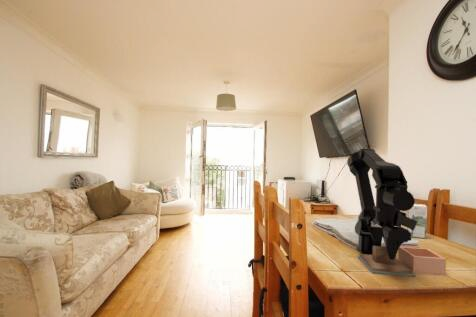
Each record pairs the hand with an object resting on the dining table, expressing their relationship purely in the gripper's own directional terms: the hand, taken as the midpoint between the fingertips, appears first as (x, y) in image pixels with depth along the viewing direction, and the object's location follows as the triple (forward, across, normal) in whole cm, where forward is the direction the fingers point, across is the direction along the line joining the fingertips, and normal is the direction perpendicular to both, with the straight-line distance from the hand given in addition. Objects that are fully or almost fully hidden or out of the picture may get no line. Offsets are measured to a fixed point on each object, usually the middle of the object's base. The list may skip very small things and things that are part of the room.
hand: (384, 253), depth 80 cm
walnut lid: (+3, 0, 0) cm, 3 cm away
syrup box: (+4, +38, -30) cm, 48 cm away
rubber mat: (+4, 0, 0) cm, 4 cm away
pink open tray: (+4, +2, -12) cm, 12 cm away
